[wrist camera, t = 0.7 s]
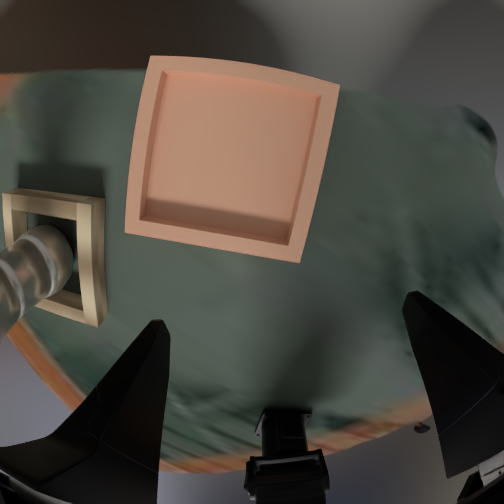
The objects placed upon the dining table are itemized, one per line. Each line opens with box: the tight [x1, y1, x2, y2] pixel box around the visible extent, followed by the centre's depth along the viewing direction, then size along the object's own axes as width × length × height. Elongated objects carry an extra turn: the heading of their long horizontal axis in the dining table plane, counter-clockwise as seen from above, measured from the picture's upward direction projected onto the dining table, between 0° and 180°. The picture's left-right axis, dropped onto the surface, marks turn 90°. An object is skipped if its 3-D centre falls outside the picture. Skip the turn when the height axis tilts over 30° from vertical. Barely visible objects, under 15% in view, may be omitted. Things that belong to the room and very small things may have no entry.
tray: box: [125, 56, 340, 263], centre depth 20 cm, size 14×14×2 cm
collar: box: [2, 188, 108, 327], centre depth 22 cm, size 12×12×2 cm
